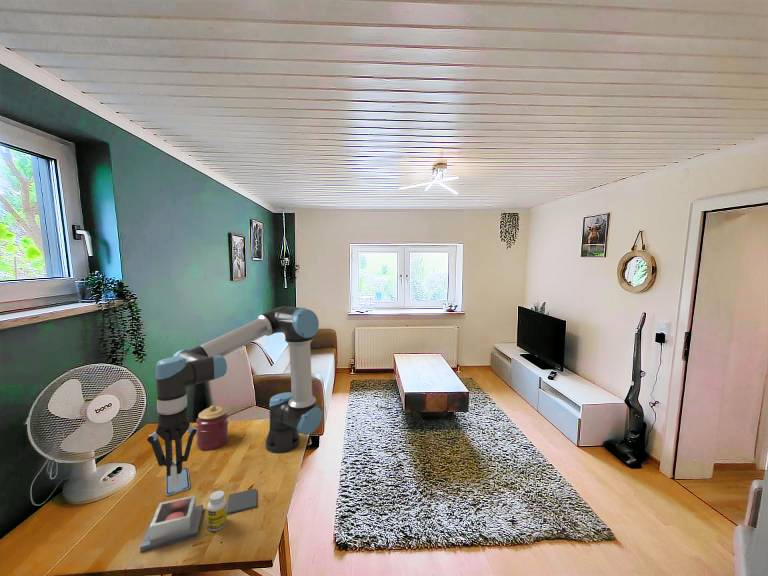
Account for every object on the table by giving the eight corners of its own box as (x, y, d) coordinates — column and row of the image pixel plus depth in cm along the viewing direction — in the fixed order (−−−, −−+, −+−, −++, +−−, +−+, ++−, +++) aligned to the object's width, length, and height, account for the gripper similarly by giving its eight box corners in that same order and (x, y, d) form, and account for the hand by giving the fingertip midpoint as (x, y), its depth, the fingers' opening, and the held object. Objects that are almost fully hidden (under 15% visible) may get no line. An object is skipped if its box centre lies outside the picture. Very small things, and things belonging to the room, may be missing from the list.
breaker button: (185, 514, 100) (185, 510, 100) (182, 526, 95) (182, 521, 95) (166, 519, 98) (166, 514, 98) (162, 531, 94) (162, 526, 94)
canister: (207, 435, 152) (207, 399, 151) (233, 436, 151) (233, 400, 150) (189, 450, 139) (189, 411, 138) (218, 451, 138) (218, 412, 137)
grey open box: (203, 508, 105) (203, 491, 105) (197, 537, 94) (197, 517, 94) (152, 520, 100) (152, 502, 99) (140, 552, 89) (139, 531, 88)
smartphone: (187, 466, 127) (190, 487, 114) (187, 469, 127) (190, 489, 114) (165, 473, 122) (165, 495, 110) (165, 475, 123) (165, 497, 110)
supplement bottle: (205, 533, 95) (205, 502, 95) (209, 520, 101) (209, 490, 100) (224, 529, 97) (224, 499, 96) (228, 516, 102) (228, 487, 102)
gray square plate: (256, 489, 115) (256, 488, 115) (256, 507, 106) (256, 505, 106) (229, 496, 111) (228, 494, 111) (226, 514, 103) (226, 512, 103)
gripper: (199, 401, 101) (201, 471, 102) (150, 407, 96) (153, 481, 97) (195, 411, 94) (197, 486, 96) (142, 418, 89) (145, 498, 91)
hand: (175, 484), depth 96 cm, fingers closed
